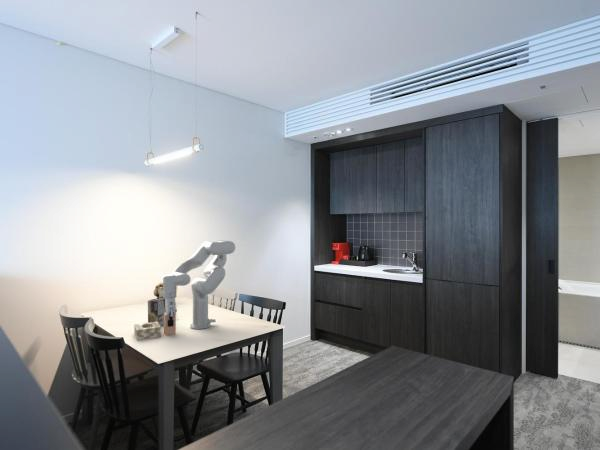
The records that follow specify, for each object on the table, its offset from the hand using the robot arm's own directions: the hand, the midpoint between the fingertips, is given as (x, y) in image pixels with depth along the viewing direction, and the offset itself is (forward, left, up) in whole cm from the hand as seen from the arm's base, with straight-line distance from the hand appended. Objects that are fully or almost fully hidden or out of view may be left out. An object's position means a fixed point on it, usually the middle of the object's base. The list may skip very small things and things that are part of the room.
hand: (169, 324), depth 219 cm
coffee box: (+4, -24, -6) cm, 25 cm away
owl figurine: (-8, -86, -6) cm, 87 cm away
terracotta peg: (0, 0, -5) cm, 5 cm away
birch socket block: (+12, -4, -5) cm, 14 cm away
